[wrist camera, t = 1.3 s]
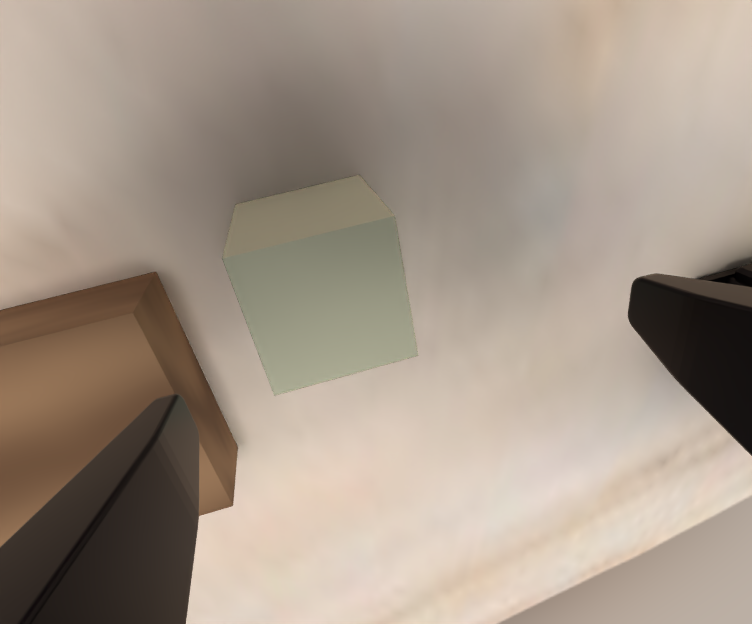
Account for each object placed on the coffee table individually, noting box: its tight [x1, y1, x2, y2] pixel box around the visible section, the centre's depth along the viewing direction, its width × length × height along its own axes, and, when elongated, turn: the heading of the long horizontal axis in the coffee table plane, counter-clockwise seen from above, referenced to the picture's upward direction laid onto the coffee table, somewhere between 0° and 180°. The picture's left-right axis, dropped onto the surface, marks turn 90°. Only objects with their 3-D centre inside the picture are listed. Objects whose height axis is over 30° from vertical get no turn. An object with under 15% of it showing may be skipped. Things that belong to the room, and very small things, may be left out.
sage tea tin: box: [222, 175, 418, 396], centre depth 17 cm, size 5×5×6 cm
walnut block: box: [0, 272, 238, 547], centre depth 19 cm, size 10×10×4 cm
